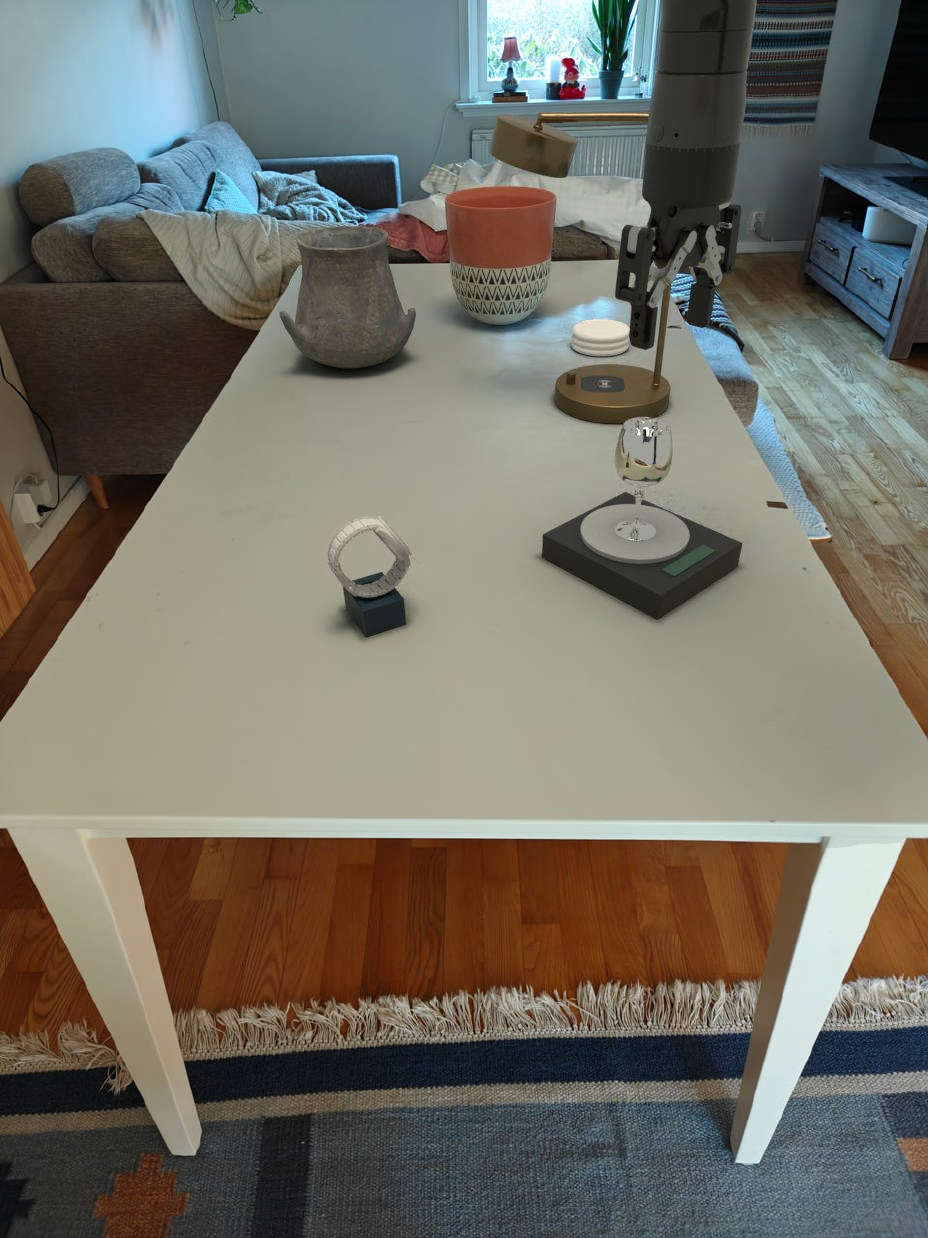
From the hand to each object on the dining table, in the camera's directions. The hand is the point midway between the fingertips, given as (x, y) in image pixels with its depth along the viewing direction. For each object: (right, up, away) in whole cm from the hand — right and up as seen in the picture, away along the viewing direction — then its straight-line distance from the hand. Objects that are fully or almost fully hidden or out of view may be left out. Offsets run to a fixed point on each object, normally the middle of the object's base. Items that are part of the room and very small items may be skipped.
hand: (670, 335), depth 79 cm
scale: (0, -20, +14) cm, 25 cm away
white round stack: (+5, +21, +69) cm, 73 cm away
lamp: (-2, +7, +51) cm, 51 cm away
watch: (-28, -26, +8) cm, 39 cm away
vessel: (-38, +19, +68) cm, 80 cm away
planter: (-12, +30, +82) cm, 88 cm away
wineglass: (-1, -17, +13) cm, 21 cm away
